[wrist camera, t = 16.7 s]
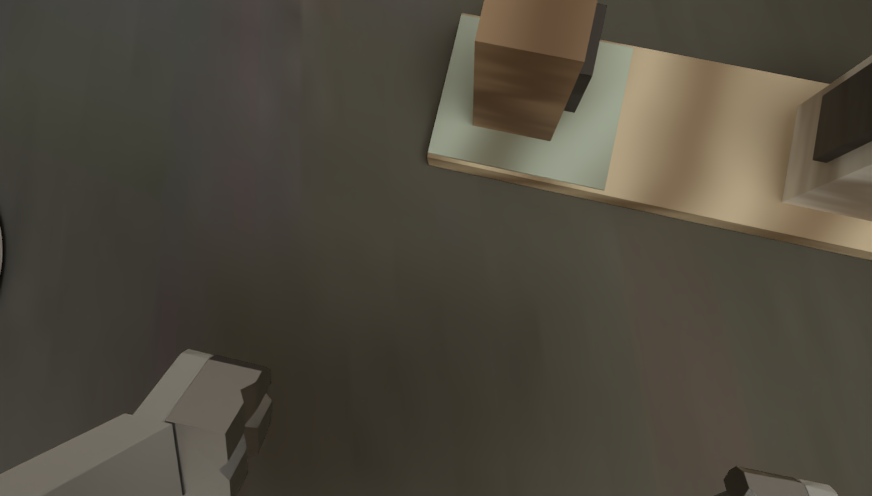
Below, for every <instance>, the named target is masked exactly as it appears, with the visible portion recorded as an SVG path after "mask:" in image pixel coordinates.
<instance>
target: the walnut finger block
mask: <svg viewBox="0 0 872 496" xmlns="http://www.w3.org/2000/svg"><path fill="white" fill-rule="evenodd" d="M606 8H607V5H603V4H598V3H597V0H484V4H483V8H482V12H481V16H480V21H479V25H478V29H477V33H476V38H475V51H474V88H473V126H478V127H482V128H487V129H492V130H497V131H502V132H507V133H512V134H517V135H521V136H526V137H531V138H536V139H541V140H546V141H551V139H552V137H553V134H554V132H555V130H556V127H557V125H558V123H559V120H560V118H561V116H562V113H563V111H568V112H573V113H575V111H576V109H577V107H578V105H579V103H580V101H581V99H582V97H583V94H584V92H585V90H586V88H587V86H588V84H589V82H590V80H591V78H592V76H593V71H594V66H595V61H596V57H597V52H598V47H599V42H600V37H601V33H602V28H603V23H604V18H605V13H606Z"/></svg>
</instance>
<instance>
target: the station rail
mask: <svg viewBox="0 0 872 496" xmlns="http://www.w3.org/2000/svg"><path fill="white" fill-rule="evenodd" d="M479 21H480V16H475V15H470V14H465V13H462V15H461V18H460V22H459V26H458V31H457V35H456V39H455V43H454V47H453V51H452V55H451V59H450V63H449V67H448V72H447V76H446V80H445V84H444V88H443V92H442V96H441V100H440V104H439V108H438V112H437V117H436V121H435V125H434V129H433V133H432V137H431V141H430V145H429V149H428V156H427V159H428V163H429V165H431V166H435V167H440V168H444V169H449V170H454V171H458V172H463V173H468V174H472V175H477V176H482V177H486V178H491V179H496V180H500V181H505V182H510V183H514V184H519V185H523V186H528V187H533V188H537V189H542V190H547V191H551V192H556V193H561V194H565V195H570V196H575V197H579V198H584V199H589V200H593V201H598V202H602V203H607V204H612V205H616V206H621V207H626V208H630V209H635V210H640V211H644V212H649V213H654V214H658V215H663V216H667V217H672V218H677V219H681V220H686V221H691V222H695V223H700V224H705V225H709V226H714V227H719V228H723V229H728V230H733V231H737V232H742V233H746V234H751V235H756V236H760V237H765V238H770V239H774V240H779V241H784V242H788V243H793V244H798V245H802V246H807V247H811V248H816V249H821V250H825V251H830V252H835V253H839V254H844V255H849V256H853V257H858V258H863V259H867V260H872V55H871V56H870V57H869V58H867V59H866V60H864V61H863V62H861V63H860V64H858V65H857V66H856V67H854V68H853V69H851V70H850V71H848V72H847V73H845V74H844V75H843V76H841V77H840V78H838V79H837V80H835V81H834V82H832V83H831V84H826V83H821V82H816V81H811V80H806V79H800V78H795V77H790V76H785V75H780V74H775V73H769V72H764V71H759V70H754V69H749V68H744V67H738V66H733V65H728V64H723V63H718V62H713V61H707V60H702V59H697V58H692V57H687V56H682V55H676V54H671V53H666V52H661V51H656V50H651V49H645V48H640V47H635V46H630V45H625V44H620V43H614V42H609V41H604V40H600V42H599V47H598V52H597V57H596V61H595V66H594V71H593V76H592V78H591V80H590V82H589V84H588V86H587V88H586V90H585V92H584V94H583V97H582V99H581V101H580V103H579V105H578V107H577V109H576V111H575V113H573V112H568V111H563V113H562V116H561V118H560V120H559V123H558V125H557V127H556V130H555V132H554V134H553V137H552V139H551V141H546V140H541V139H536V138H531V137H526V136H521V135H517V134H512V133H507V132H502V131H497V130H492V129H487V128H482V127H478V126H473V88H474V51H475V38H476V33H477V29H478V25H479Z"/></svg>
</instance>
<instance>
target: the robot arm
mask: <svg viewBox="0 0 872 496" xmlns="http://www.w3.org/2000/svg"><path fill="white" fill-rule="evenodd" d="M1 266H2V235H1V228H0V273H1ZM270 384H271V370H270V369H269V368H267V367H264V366H260V365H256V364H252V363H248V362H243V361H239V360H235V359H231V358H227V357H223V356H218V355H212V354H208V353H204V352H200V351H195V350H191V349H187V350H186V351H184V352H182V353H181V354H180V355H179V356H178V357H177V359H176V360H175V361H174V362H173V364H172V365H171V366H170V368H169V369H168V370H167V371H166V373H165V374H164V375H163V377H162V378H161V379H160V380H159V382H158V383H157V384H156V385H155V387H154V388H153V389H152V391H151V392H150V393H149V394H148V396H147V397H146V398H145V400H144V401H143V402H142V403H141V405H140V406H139V407H138V409H137V410H136V411H135V412H134V414H133V415H130V414H125V413H124V414H122V415H120V416H118V417H116V418H114V419H112V420H110V421H108V422H106V423H104V424H102V425H100V426H97V427H95V428H93V429H91V430H89V431H87V432H85V433H83V434H81V435H79V436H77V437H75V438H73V439H71V440H69V441H67V442H65V443H63V444H61V445H59V446H57V447H54V448H52V449H50V450H48V451H46V452H44V453H42V454H40V455H38V456H36V457H34V458H32V459H30V460H28V461H26V462H24V463H22V464H20V465H18V466H16V467H14V468H12V469H9V470H7V471H5V472H3V473H1V474H0V496H236V495H237V494H238V492H239V490H240V488H241V486H242V484H243V482H244V480H245V478H246V476H247V474H248V464H247V459H248V458H250V457H252V456H253V455H255V454H256V453H258V452H259V450H260V448H261V446H262V444H263V442H264V440H265V437H266V434H267V431H268V428H269V425H270V420H271V413H272V400H271V399H270V398H269V396H268V395H267V394H266V392H267V390H268V388H269V386H270ZM724 483H725V487H726V491H724V492H722V493H719V494H717V495H715V496H838V495H837V493H836V491H835V490H834V489H833V488H832V487H831V486H830V485H826V484H821V483H816V482H811V481H806V480H801V479H795V478H792V477H787V476H782V475H777V474H772V473H767V472H763V471H758V470H753V469H748V468H743V467H738V466H736V467H734V468H732V469H730V470H729V472H728V473H727V475H726V476H725V478H724Z"/></svg>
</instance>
